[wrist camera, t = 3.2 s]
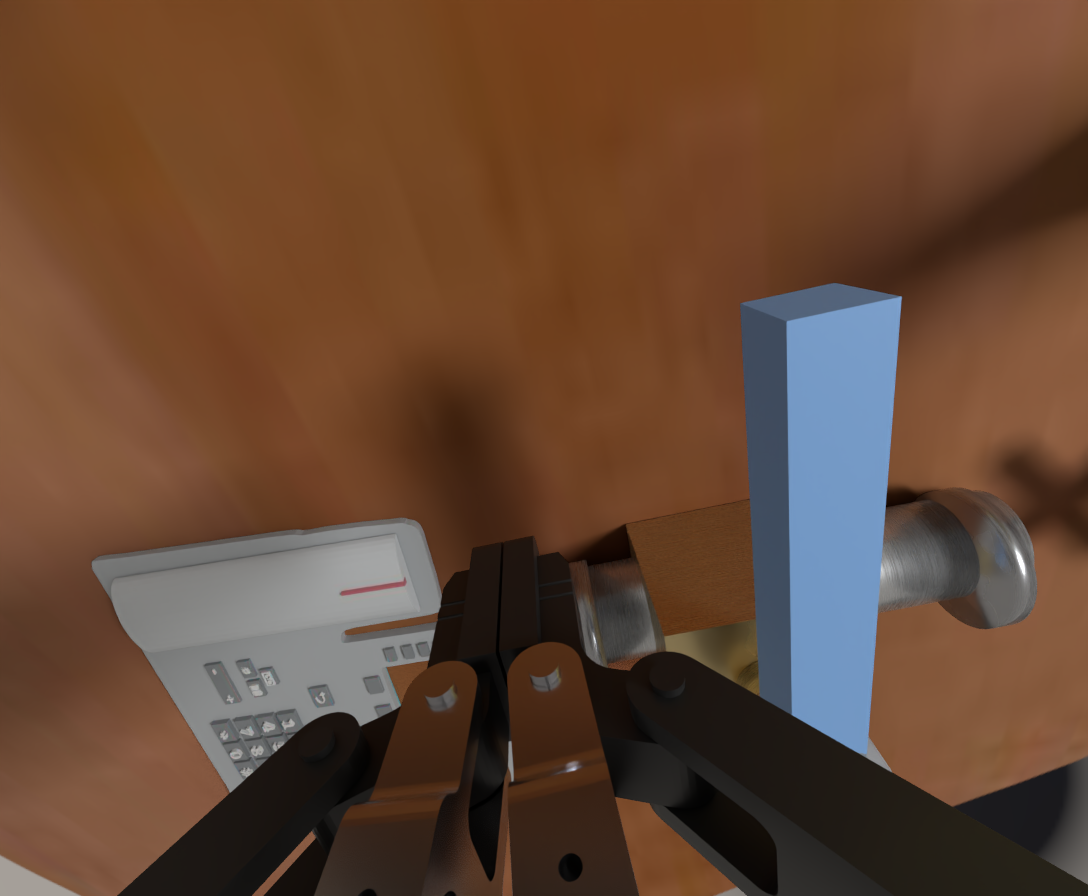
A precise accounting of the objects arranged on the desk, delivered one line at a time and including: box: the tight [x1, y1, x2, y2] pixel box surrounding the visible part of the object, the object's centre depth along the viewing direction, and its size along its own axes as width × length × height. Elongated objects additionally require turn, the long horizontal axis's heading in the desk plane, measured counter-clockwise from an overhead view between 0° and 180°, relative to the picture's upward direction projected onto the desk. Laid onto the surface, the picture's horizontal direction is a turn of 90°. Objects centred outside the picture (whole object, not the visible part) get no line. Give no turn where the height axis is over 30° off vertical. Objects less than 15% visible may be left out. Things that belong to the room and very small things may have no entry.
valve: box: [569, 487, 1037, 696], centre depth 25 cm, size 22×7×10 cm, turn 102°
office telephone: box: [92, 518, 514, 793], centre depth 32 cm, size 23×3×20 cm
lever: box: [740, 283, 902, 772], centre depth 16 cm, size 19×4×2 cm, turn 12°
